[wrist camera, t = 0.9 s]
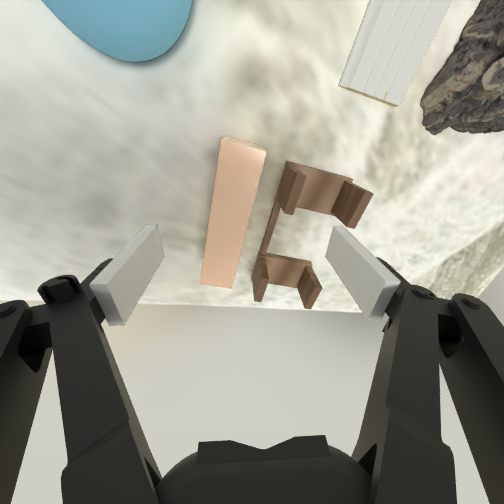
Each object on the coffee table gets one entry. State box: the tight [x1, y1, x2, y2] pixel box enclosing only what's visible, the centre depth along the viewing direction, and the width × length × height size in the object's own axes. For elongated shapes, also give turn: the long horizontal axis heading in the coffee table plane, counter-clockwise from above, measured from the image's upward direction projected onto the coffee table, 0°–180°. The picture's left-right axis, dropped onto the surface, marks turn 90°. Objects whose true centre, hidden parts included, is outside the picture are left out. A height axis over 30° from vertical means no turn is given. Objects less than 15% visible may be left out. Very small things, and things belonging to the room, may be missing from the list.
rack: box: [251, 161, 373, 309], centre depth 34 cm, size 10×22×7 cm, turn 166°
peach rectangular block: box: [200, 136, 267, 289], centre depth 30 cm, size 5×20×8 cm, turn 166°
